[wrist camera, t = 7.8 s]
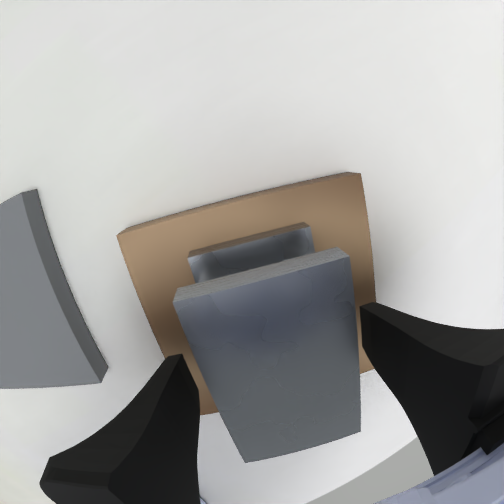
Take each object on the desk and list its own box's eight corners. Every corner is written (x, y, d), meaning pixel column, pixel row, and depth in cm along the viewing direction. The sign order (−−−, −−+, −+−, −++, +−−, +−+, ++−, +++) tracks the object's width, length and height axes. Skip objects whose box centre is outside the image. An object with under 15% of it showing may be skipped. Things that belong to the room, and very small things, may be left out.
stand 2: (367, 353, 17) (377, 367, 16) (195, 399, 17) (194, 416, 16) (347, 172, 14) (360, 173, 13) (126, 228, 14) (116, 235, 12)
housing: (327, 365, 15) (360, 431, 11) (237, 389, 15) (245, 462, 10) (304, 221, 13) (349, 255, 8) (189, 251, 13) (172, 302, 8)
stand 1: (108, 367, 16) (100, 382, 14) (2, 377, 16) (-7, 388, 14) (36, 189, 13) (21, 192, 11) (-58, 244, 12) (-71, 250, 11)
